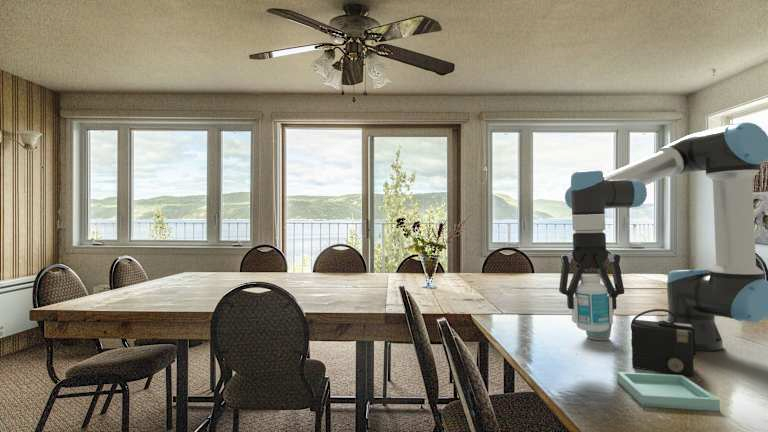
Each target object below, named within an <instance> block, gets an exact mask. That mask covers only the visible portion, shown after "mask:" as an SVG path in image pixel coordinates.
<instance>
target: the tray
mask: <svg viewBox="0 0 768 432" xmlns="http://www.w3.org/2000/svg"><path fill="white" fill-rule="evenodd" d="M616 381H617V382H618V384H620V386H621V387H622V388H623V389H625V391H626V392H628V393H629V394H630V395H631V396H632V397H633V398H634V400H636V401H637V402H638V403H639V404H640V405H641V406H642V407H651V408H667V409H679V410H680V409H682V410H694V411H695V410H697V411H714V412H721V411H720V410H721V400H720V399H719V398H717V396H714V395H713V394H712V393H710V392H709V391H707V390H705V389H704V388H702V387H701V386H700V385H698V384H696V383H695V382H694V381H692V380H691V379H689V378H688V377H686V376H685V375H681V374H670V373H669V374H668V373H667V374H666V373H646V372H645V373H644V372H627V371H626V372H625V371H616Z"/></svg>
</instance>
